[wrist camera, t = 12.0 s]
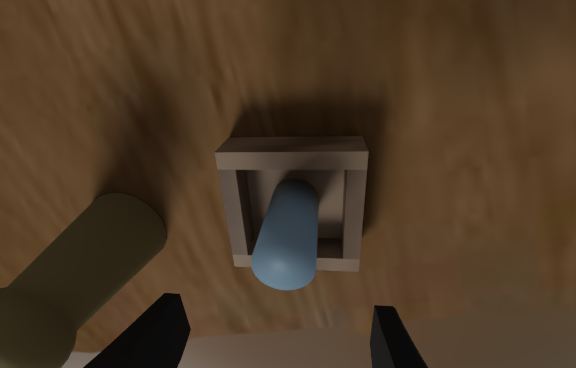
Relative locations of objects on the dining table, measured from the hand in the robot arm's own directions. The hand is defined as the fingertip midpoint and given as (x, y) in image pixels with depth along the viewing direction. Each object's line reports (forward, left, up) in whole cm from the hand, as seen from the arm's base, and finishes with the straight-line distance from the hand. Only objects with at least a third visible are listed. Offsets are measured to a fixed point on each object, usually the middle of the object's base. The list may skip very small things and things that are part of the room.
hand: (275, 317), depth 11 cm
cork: (+13, +3, -10) cm, 16 cm away
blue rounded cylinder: (0, 0, -9) cm, 9 cm away
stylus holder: (0, 0, -9) cm, 9 cm away
